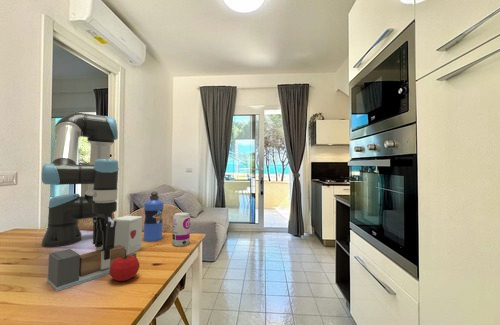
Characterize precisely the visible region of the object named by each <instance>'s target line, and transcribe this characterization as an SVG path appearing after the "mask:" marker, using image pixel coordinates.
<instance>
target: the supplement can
mask: <svg viewBox="0 0 500 325" xmlns="http://www.w3.org/2000/svg"><path fill="white" fill-rule="evenodd" d="M172 217H173V218H172V238H171V239H172V240H171V242H172V243H171V244H172V245H173V246H174V247H184V246H188V245H189V243H190V239H191V237H190V236H191V235H190V234H191V215H190V213H189V212H185V211H183V212H175V213H174V215H173V216H172Z"/></svg>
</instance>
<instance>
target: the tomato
mask: <svg viewBox="0 0 500 325" xmlns="http://www.w3.org/2000/svg"><path fill="white" fill-rule="evenodd" d="M139 269H140V261H139V259H138V258H137V256H136V257H135V256H131V255H130V254H129V255H125V256H120V257H119V258H117V259H115V260H114V261H113V263H112V264H111V267H110V270H109V271H110V274H109V276H110V277H111V278H112V279H113V280H115V281H117V282H125V281H128V280H131V279H132V278H133V277H134V276H136V275H137V273H138V272H139Z"/></svg>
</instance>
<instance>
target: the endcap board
mask: <svg viewBox="0 0 500 325" xmlns="http://www.w3.org/2000/svg"><path fill="white" fill-rule="evenodd" d="M80 255H81V254H79V253H78V252H76V251H74V250H73V249H71V248H67V249H63V250H59V251H54V252H49V253H48V267H47V268H48V271H47V280H46V281H47V283H48V284H49V285H50V286H51V287H52V288H53V289H54V290H55V291H56V292H59V291H62V290H66V289H68V288H71V287H75V286H78V285H81V284H83V283H86V282H90V281H93V280H96V279H98V278H101V277H104V276H108V275H110V271H109V270H110V268H107V269H104V270H101V271H97V272H94V273H91V274H88V275H85V276H82V277H80V276H79V265H80ZM125 255H126V249H125ZM129 255H131V256H135V257H136V258H137V253H136V252H133V253H131V254H129Z"/></svg>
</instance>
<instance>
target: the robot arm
mask: <svg viewBox="0 0 500 325" xmlns="http://www.w3.org/2000/svg"><path fill="white" fill-rule="evenodd" d="M118 133H119V131H118V124H117V120H116V118H115V117H111V116H107V115H99V114H92V113H85V112H84V113H83V112H74V113H70V114H67V115H65V116H63V117H61V118H60V119H59V120H58V121H57V122H56V124H55V127H54V134H55V143H54V147H53V152H52V159H51V163H44V164H43V165H42V167H41V168H42V169H41V182H42V183H43V184H44V185H56V186H58V185H59V186H61V185H62V186H63V185H88V189H87V190H86V191H85V192H84V196H83V195H82V196H80V193H70V194H64V195H63V194H62V195H57V196H53V197H51V198H50V199H49V201H48V207H47V209H48V219H47V229H46V231H45V233H44V235H43V237H42V240H41V246H43V247H44V248H45V247H46V248H48V247H49V248H52V247H62V246H68V245H72V244H77V243H78V242H81V241H82V237H83V235H82V232H81V230H80V226H79V220H86V219H92V222H93V223H92V224H93V226H92V228H93V229H92V231H93V232H92V244H93V245H94V247H95V250H94V251H97V250H100V251H101V270H103V269H106V268H109V267H110V250H111V249H113V248H114V241H115V227H116V221H113V220H112V219H113V213H115V212H117V208H118V206H117V205H118V203H117V200H118V190H119V189H118V181H119V180H118V178H119V161H118V160H117V159H111V146H112V145H114V144H115V141H116V140H118V135H119V134H118ZM80 137H83V138H87V139H86V140H87V142H88V143H89V144H90V152H89V153H90V156H89V164H78V163H77V162H78V146H79V138H80ZM101 249H102V250H101Z"/></svg>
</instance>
